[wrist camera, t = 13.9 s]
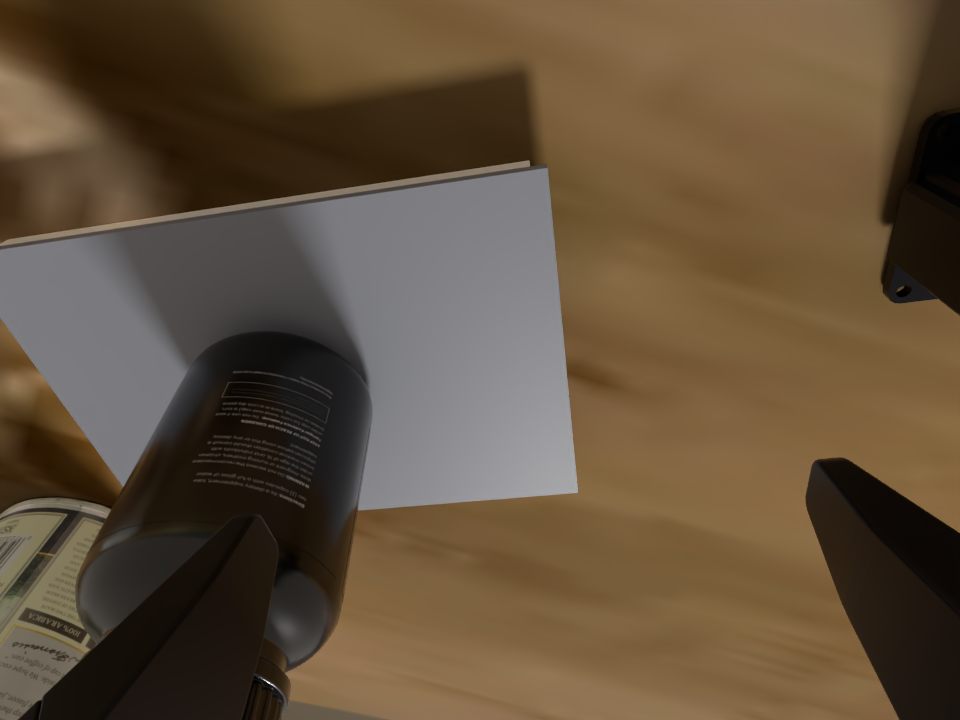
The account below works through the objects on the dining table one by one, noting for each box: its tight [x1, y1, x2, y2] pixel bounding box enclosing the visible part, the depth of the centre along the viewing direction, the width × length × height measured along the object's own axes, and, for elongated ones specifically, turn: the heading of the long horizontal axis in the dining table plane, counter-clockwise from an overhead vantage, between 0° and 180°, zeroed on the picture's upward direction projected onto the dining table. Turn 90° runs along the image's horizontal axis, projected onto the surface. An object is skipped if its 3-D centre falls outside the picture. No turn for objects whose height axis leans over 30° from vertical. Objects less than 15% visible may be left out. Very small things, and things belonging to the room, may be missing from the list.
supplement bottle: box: [75, 331, 373, 720], centre depth 17 cm, size 7×7×12 cm
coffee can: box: [0, 497, 111, 720], centre depth 27 cm, size 10×10×14 cm
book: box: [0, 160, 578, 510], centre depth 23 cm, size 20×14×3 cm
